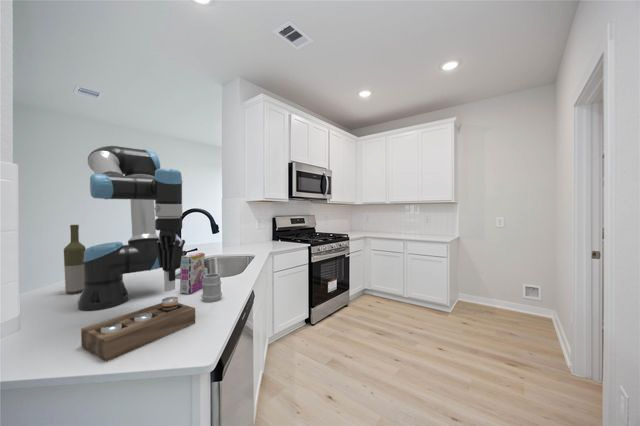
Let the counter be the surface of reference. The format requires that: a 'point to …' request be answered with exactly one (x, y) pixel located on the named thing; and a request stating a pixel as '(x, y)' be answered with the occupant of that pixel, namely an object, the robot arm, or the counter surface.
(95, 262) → the robot arm
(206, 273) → the mug
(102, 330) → the knob
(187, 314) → the wooden candle holder
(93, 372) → the counter surface
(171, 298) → the knob
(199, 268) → the candy bar box
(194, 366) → the counter surface
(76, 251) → the bottle
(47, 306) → the counter surface
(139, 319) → the knob
